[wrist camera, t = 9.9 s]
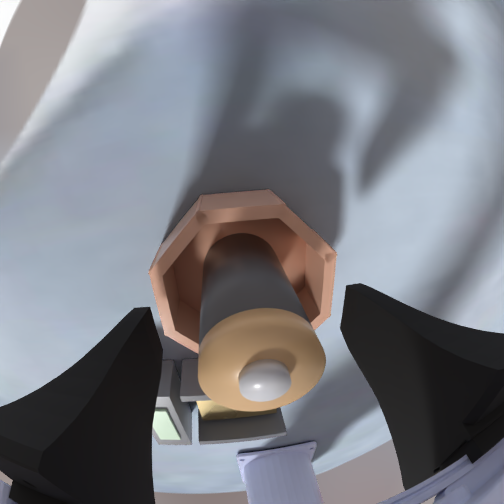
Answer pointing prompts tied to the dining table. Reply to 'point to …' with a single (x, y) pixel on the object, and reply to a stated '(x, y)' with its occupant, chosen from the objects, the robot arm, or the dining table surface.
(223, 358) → the cell
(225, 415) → the plunger
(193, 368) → the battery checker
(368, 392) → the dining table surface
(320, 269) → the cup
